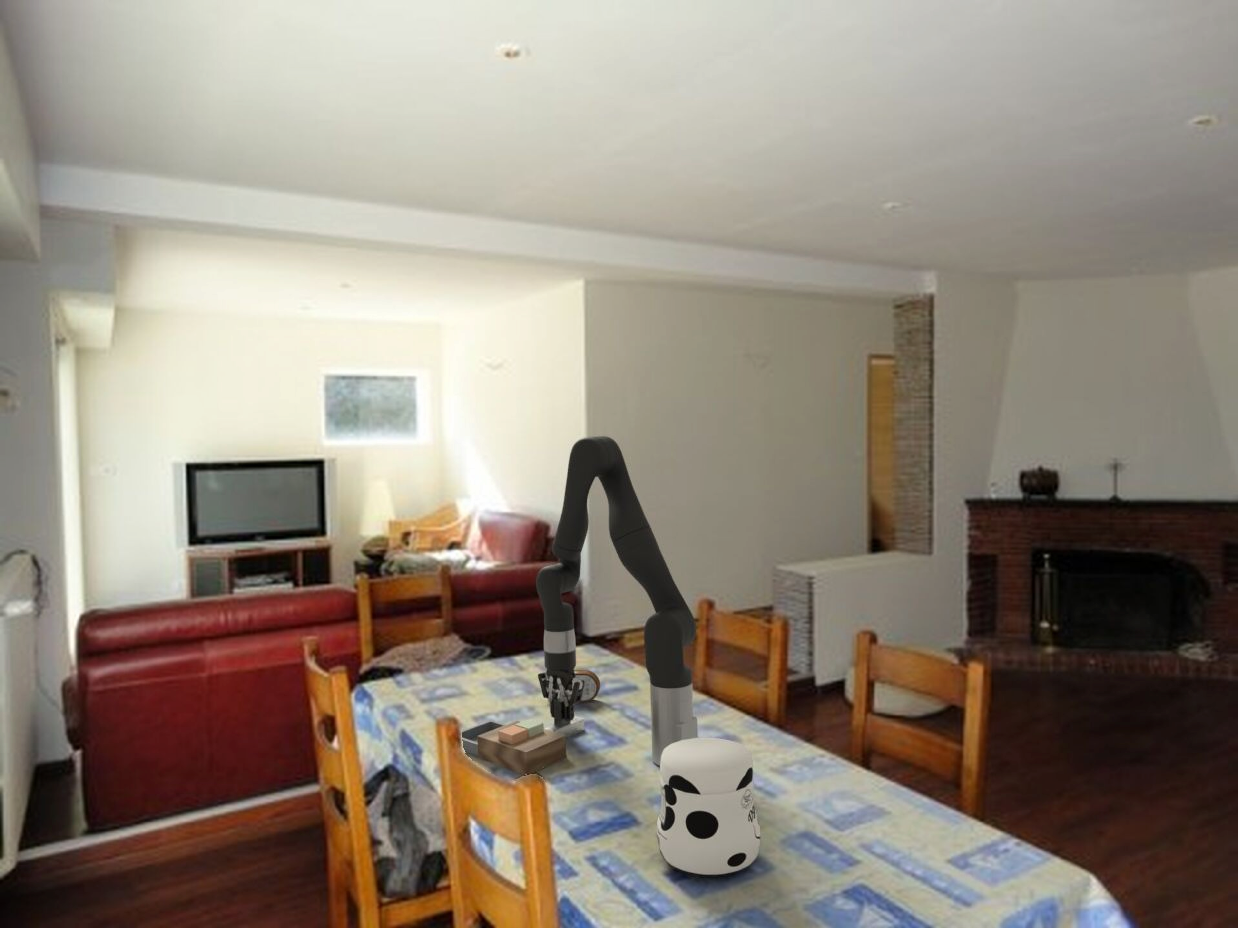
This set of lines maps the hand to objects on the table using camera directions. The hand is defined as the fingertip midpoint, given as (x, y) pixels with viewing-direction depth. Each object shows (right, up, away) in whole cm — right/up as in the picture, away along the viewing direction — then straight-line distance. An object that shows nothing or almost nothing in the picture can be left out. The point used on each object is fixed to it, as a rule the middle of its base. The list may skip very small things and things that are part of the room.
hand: (562, 718), depth 198 cm
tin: (+1, -4, +26) cm, 26 cm away
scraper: (0, -4, 0) cm, 4 cm away
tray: (-18, -5, -4) cm, 19 cm away
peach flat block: (-10, 0, -15) cm, 18 cm away
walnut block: (-8, -5, -13) cm, 16 cm away
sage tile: (-7, 0, -11) cm, 13 cm away
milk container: (+29, -6, -59) cm, 66 cm away
